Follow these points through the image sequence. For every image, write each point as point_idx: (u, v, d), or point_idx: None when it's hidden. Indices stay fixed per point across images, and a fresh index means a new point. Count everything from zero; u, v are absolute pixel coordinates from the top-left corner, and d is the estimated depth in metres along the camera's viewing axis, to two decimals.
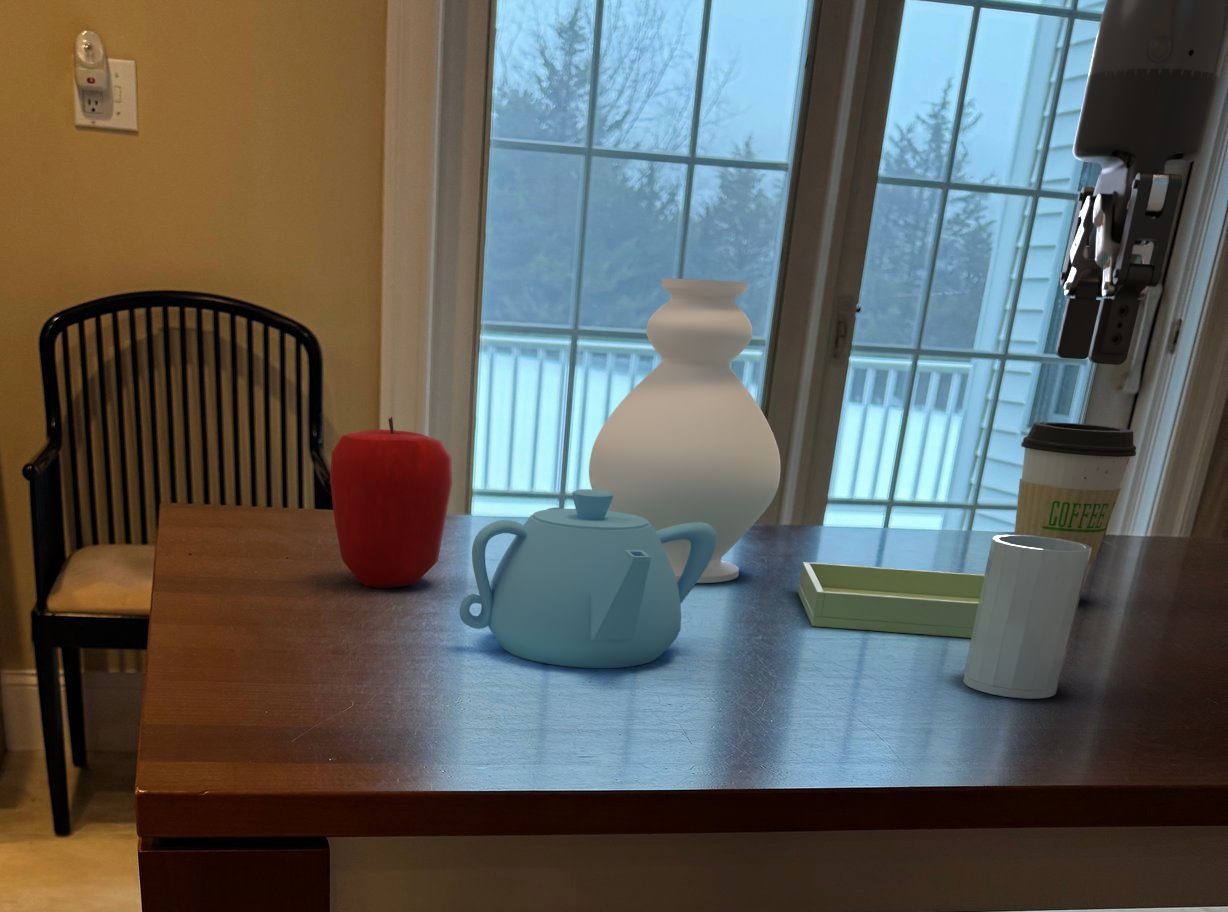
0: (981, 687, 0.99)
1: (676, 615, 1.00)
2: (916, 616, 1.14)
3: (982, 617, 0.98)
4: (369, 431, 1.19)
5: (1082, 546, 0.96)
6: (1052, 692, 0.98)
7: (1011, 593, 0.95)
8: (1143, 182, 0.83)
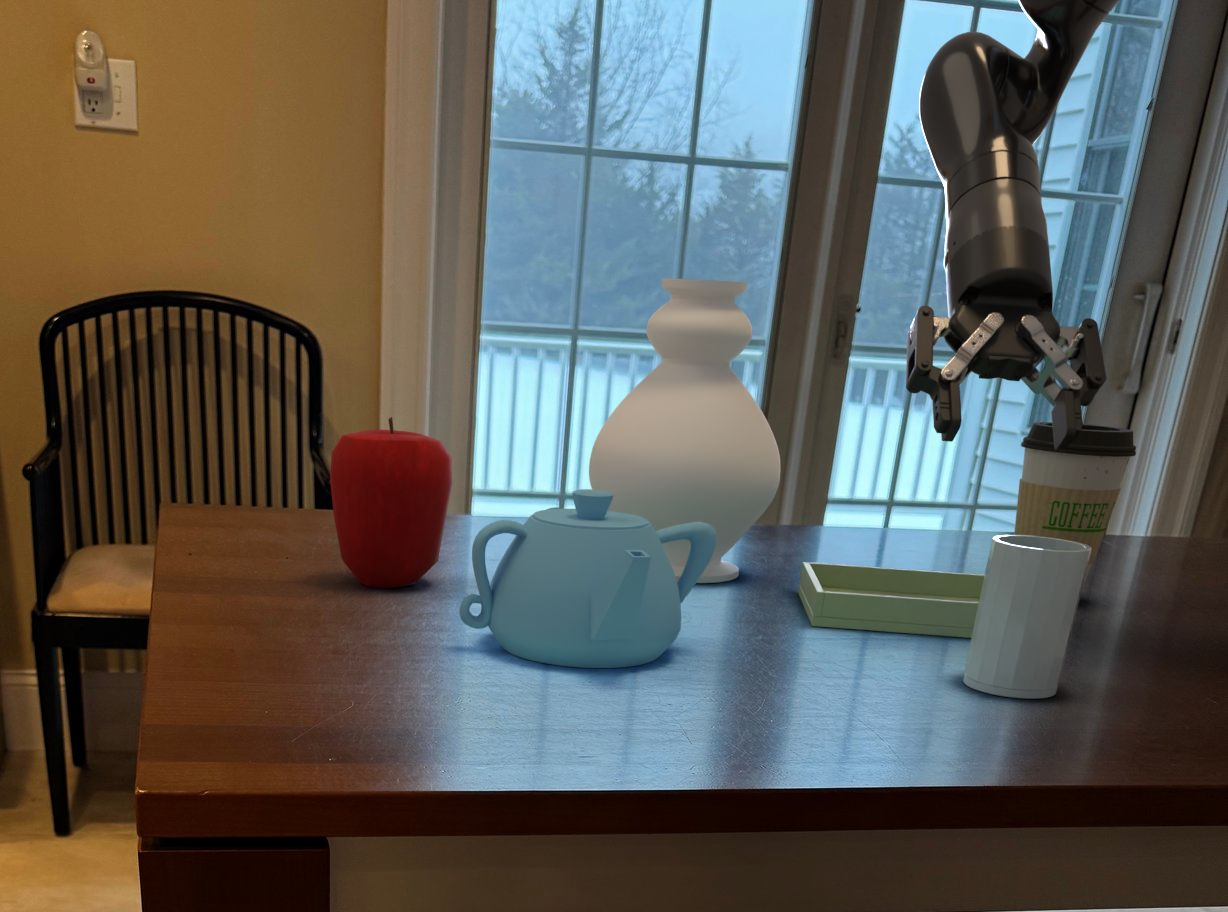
0: (981, 687, 0.99)
1: (676, 615, 1.00)
2: (916, 616, 1.14)
3: (982, 617, 0.98)
4: (369, 431, 1.19)
5: (1082, 546, 0.96)
6: (1052, 692, 0.98)
7: (1011, 593, 0.95)
8: (908, 332, 1.07)
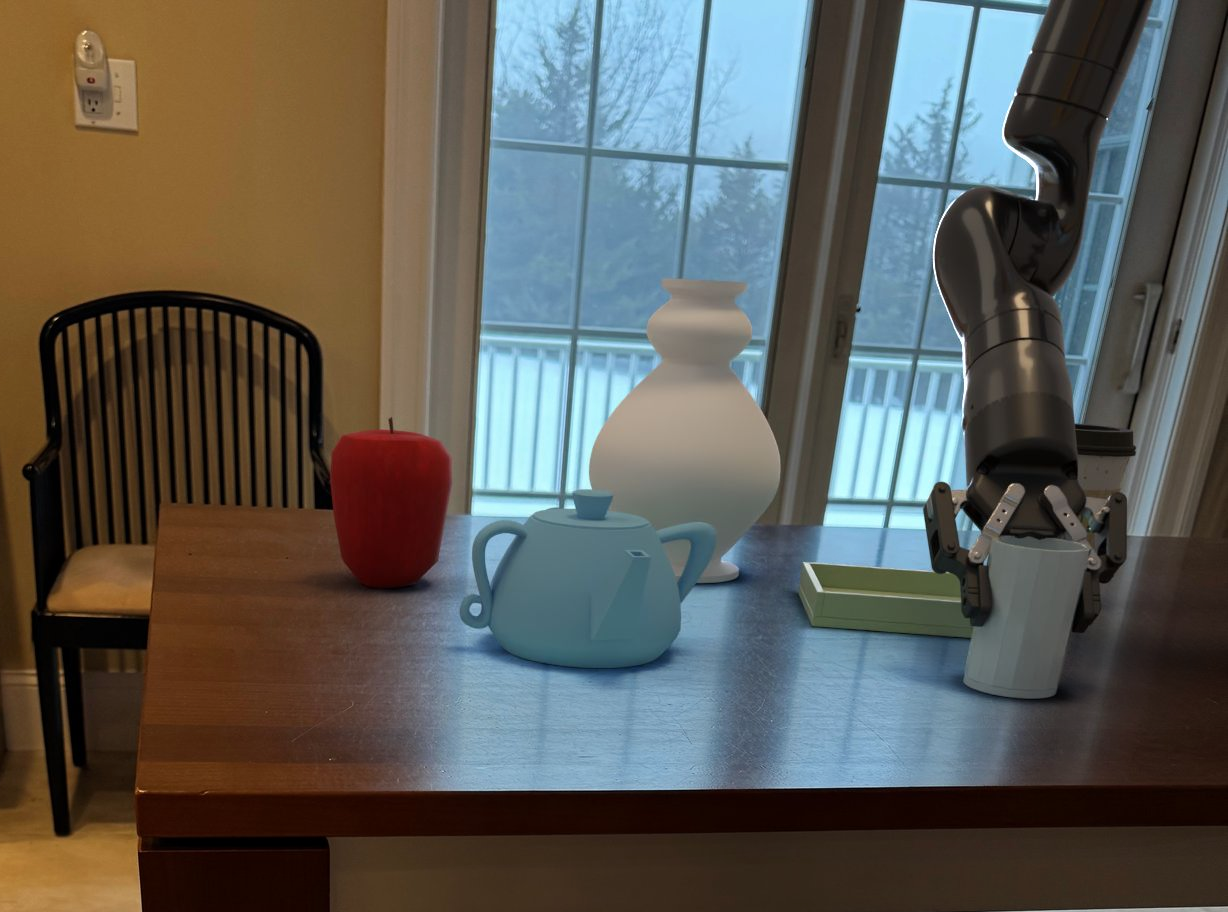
0: (981, 687, 0.99)
1: (676, 615, 1.00)
2: (916, 616, 1.14)
3: None
4: (369, 431, 1.19)
5: (1082, 546, 0.96)
6: (1052, 692, 0.98)
7: (1011, 593, 0.95)
8: (924, 508, 1.01)
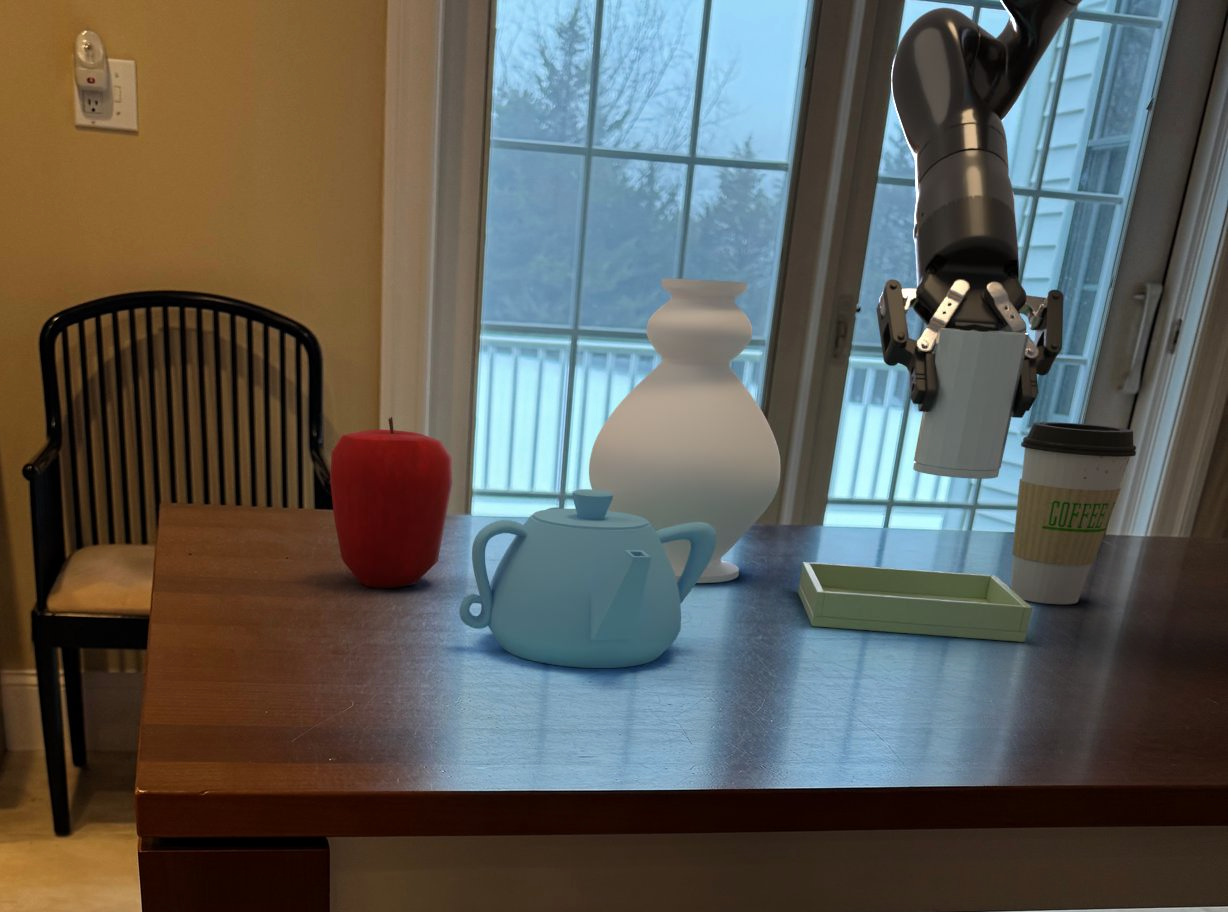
0: (928, 469, 1.07)
1: (676, 615, 1.00)
2: (916, 616, 1.14)
3: None
4: (369, 431, 1.19)
5: (1020, 334, 1.04)
6: (994, 474, 1.07)
7: (955, 376, 1.03)
8: (877, 307, 1.09)
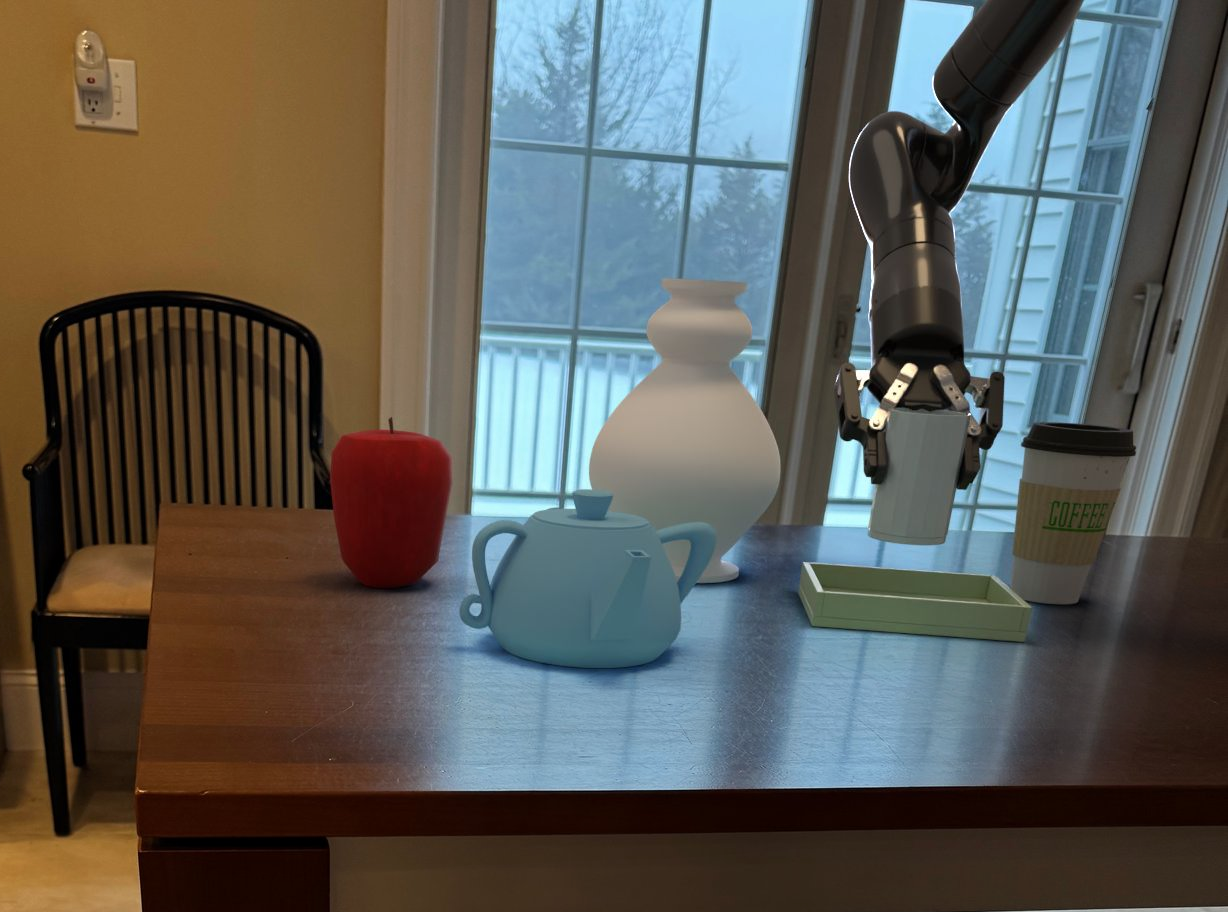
0: (881, 537, 1.17)
1: (676, 615, 1.00)
2: (916, 616, 1.14)
3: None
4: (369, 431, 1.19)
5: (963, 414, 1.14)
6: (940, 540, 1.16)
7: (903, 453, 1.13)
8: (834, 386, 1.19)
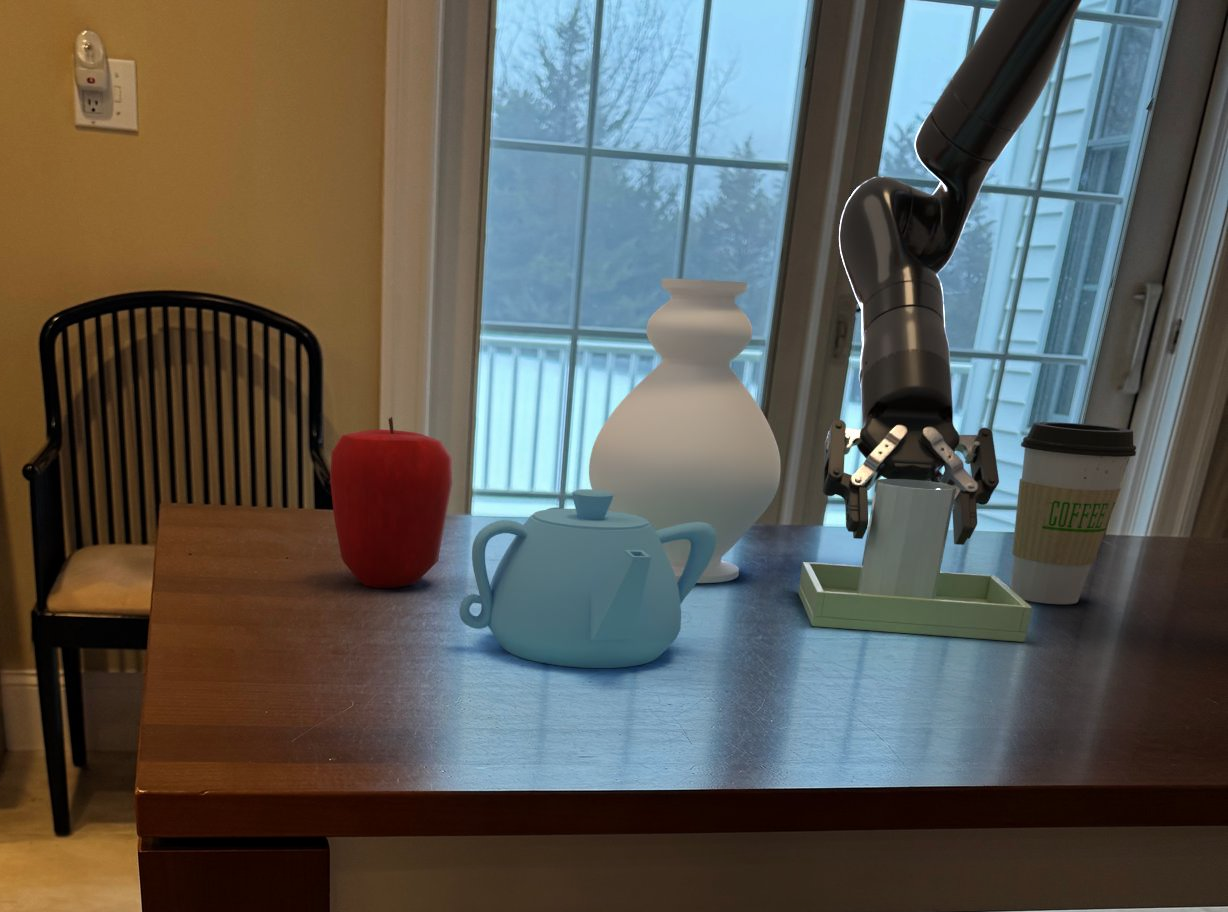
0: None
1: (676, 615, 1.00)
2: (916, 616, 1.14)
3: (868, 546, 1.18)
4: (369, 431, 1.19)
5: (949, 486, 1.16)
6: None
7: (890, 525, 1.16)
8: None
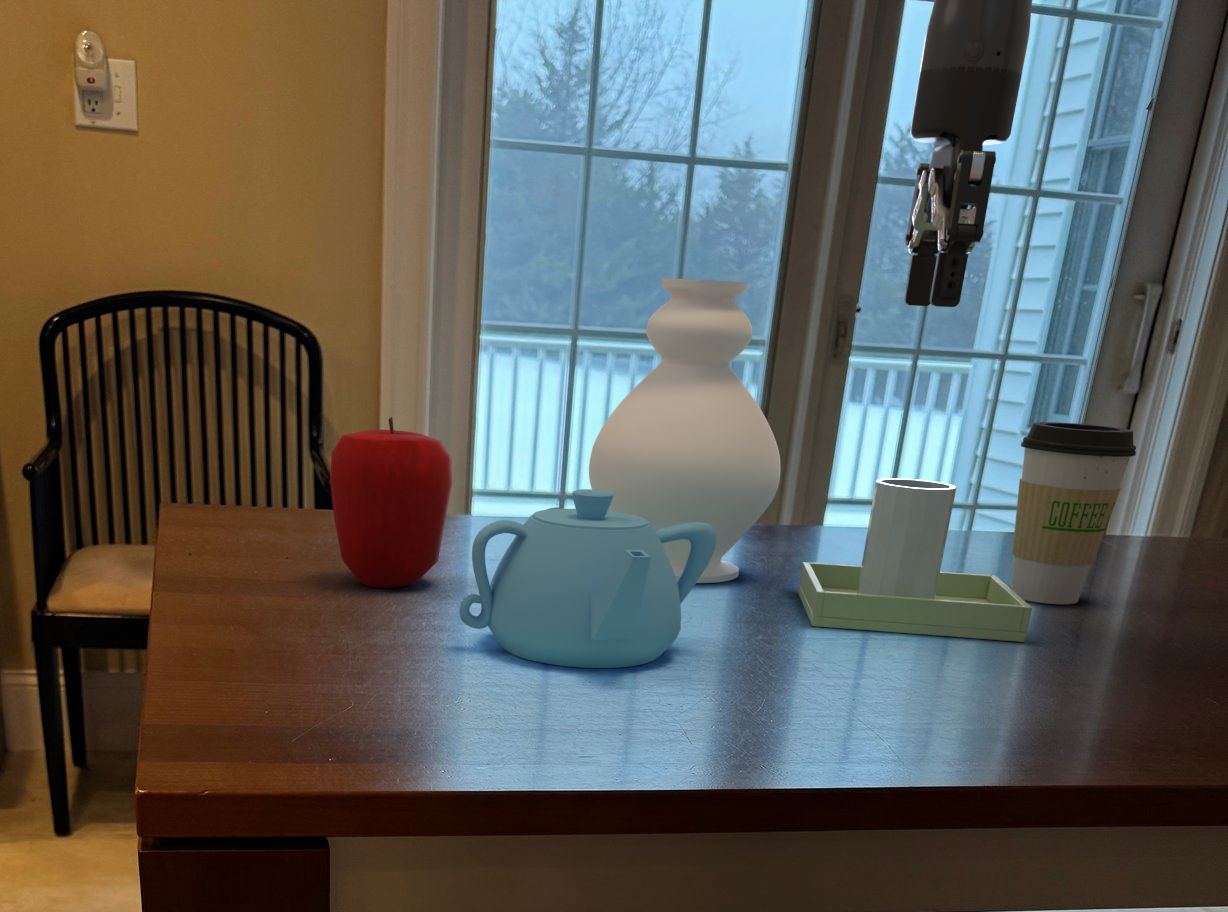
0: None
1: (676, 615, 1.00)
2: (916, 616, 1.14)
3: (868, 546, 1.18)
4: (369, 431, 1.19)
5: (949, 486, 1.16)
6: None
7: (890, 525, 1.16)
8: (965, 157, 1.03)
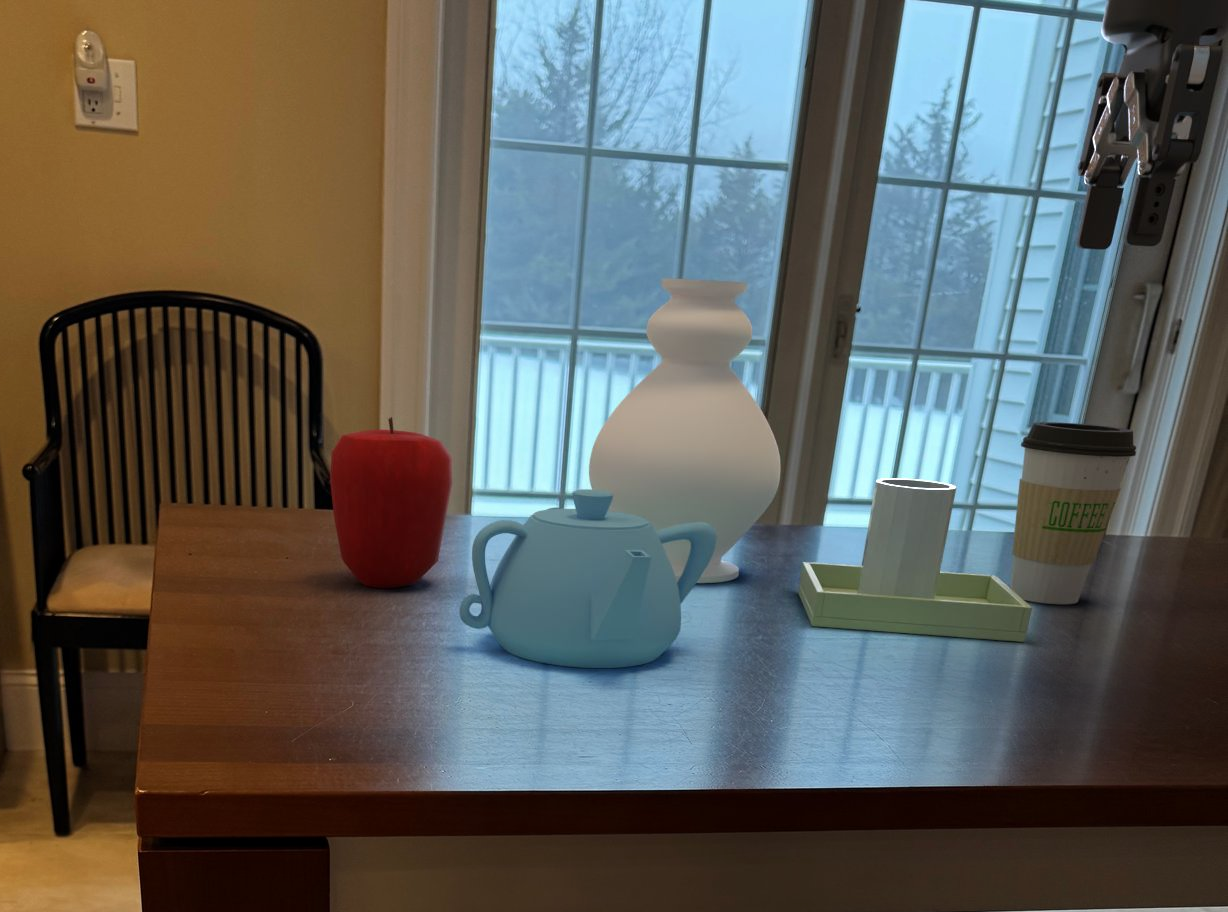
0: None
1: (676, 615, 1.00)
2: (916, 616, 1.14)
3: (868, 546, 1.18)
4: (369, 431, 1.19)
5: (949, 486, 1.16)
6: None
7: (890, 525, 1.16)
8: (1185, 53, 0.82)
